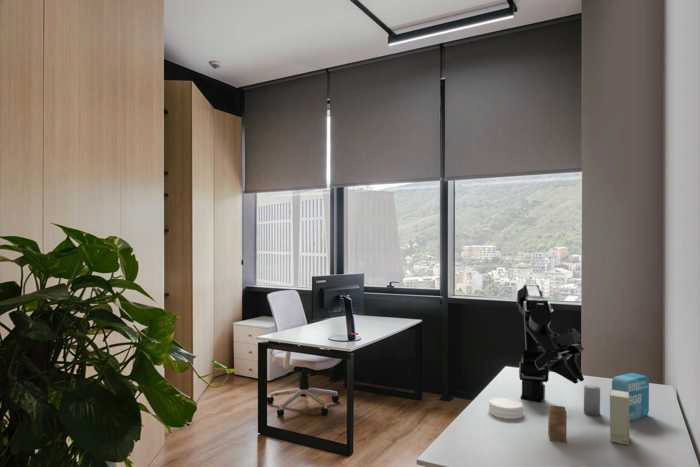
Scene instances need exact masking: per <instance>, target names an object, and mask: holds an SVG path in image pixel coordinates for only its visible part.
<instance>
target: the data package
mask: <svg viewBox="0 0 700 467" xmlns="http://www.w3.org/2000/svg"><path fill="white" fill-rule="evenodd" d="M611 390H617V391H624V392H629V422H630V421H631V422H632V421H634V420H638V419H641V418H643V417H646V416H647V415H649V412H650V411H649V410H650V379H649V376H647V375H644V374H643V375H642V374H639V373H635V372H629V373H625V374H621V375H616V376H614V377H613V378H612V379H611Z"/></svg>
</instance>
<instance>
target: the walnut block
mask: <svg viewBox="0 0 700 467" xmlns="http://www.w3.org/2000/svg"><path fill="white" fill-rule="evenodd" d="M567 414H568V413H567V410H566V407H565V406H559V405H552V404H551V405H550V404H548V416H547V417H548V418H547V420H548V422H547V424H548V425H547V431H548V432H547V436H548V439H549V440H548V441H550V442H555V443H564V444H566V443H567V435H568V434H567V432H568V430H567V427H568V426H567V424H568V422H567V418H568V417H567V416H568V415H567Z"/></svg>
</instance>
